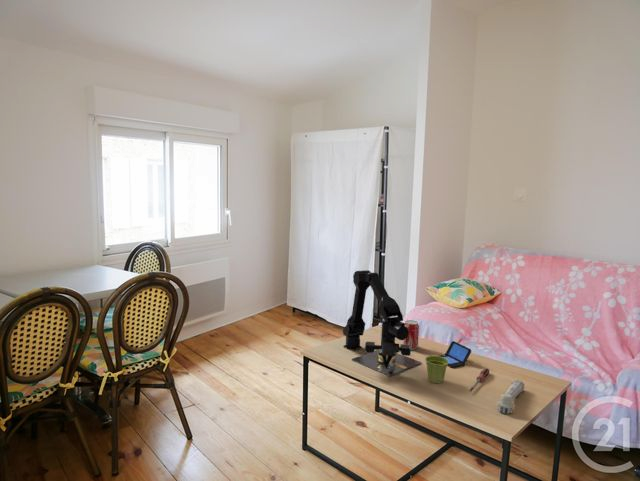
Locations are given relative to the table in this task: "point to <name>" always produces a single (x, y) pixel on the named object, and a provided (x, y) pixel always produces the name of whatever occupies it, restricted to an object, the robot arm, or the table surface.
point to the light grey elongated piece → (510, 397)
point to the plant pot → (436, 368)
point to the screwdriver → (481, 377)
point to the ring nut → (390, 366)
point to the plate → (373, 363)
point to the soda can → (412, 334)
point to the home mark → (399, 365)
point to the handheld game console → (456, 355)
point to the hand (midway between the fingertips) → (386, 368)
